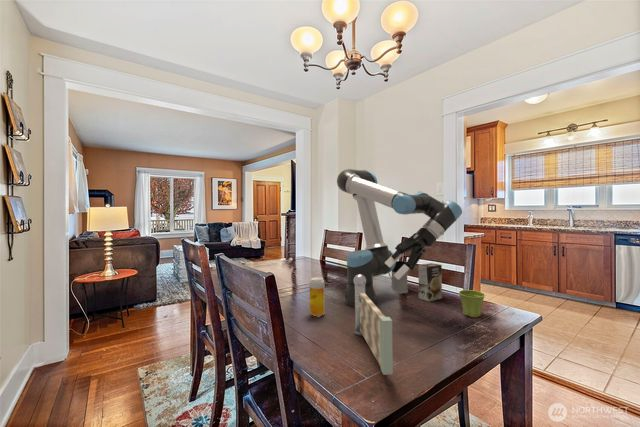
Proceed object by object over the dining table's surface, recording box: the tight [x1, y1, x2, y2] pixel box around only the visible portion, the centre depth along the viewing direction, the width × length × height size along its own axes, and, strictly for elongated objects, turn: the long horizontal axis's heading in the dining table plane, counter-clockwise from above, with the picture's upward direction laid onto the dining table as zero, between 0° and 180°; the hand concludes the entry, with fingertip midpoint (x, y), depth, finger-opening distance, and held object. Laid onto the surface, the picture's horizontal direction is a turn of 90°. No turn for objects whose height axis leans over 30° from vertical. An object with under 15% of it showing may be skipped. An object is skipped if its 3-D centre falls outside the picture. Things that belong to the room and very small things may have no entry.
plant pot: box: [458, 289, 486, 318], centre depth 115 cm, size 9×9×9 cm
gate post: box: [353, 274, 366, 337], centre depth 100 cm, size 5×5×21 cm
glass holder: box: [387, 260, 409, 295], centre depth 151 cm, size 9×14×15 cm, turn 23°
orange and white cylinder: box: [309, 276, 326, 317], centre depth 117 cm, size 6×6×15 cm
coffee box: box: [418, 262, 443, 302], centre depth 136 cm, size 9×6×16 cm
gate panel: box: [359, 292, 394, 376], centre depth 85 cm, size 26×2×14 cm, turn 6°
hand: (391, 271), depth 111 cm, fingers open, 13 cm apart
